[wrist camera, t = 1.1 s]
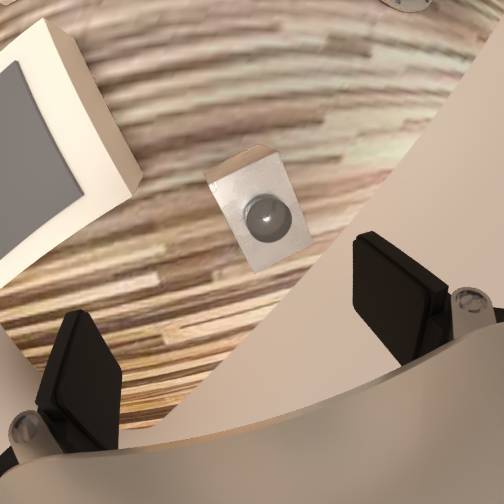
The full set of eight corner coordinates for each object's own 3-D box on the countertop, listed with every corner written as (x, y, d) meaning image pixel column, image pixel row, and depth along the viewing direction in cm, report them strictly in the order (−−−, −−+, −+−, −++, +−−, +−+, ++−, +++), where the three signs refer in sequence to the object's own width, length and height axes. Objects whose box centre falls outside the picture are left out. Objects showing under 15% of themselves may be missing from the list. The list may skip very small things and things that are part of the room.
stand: (74, 38, 19) (40, 15, 12) (143, 174, 27) (131, 198, 20) (-37, 135, 19) (-85, 148, 12) (28, 252, 27) (-6, 294, 19)
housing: (258, 144, 29) (283, 154, 22) (291, 220, 33) (319, 249, 26) (202, 171, 28) (210, 189, 22) (240, 246, 33) (258, 281, 26)
